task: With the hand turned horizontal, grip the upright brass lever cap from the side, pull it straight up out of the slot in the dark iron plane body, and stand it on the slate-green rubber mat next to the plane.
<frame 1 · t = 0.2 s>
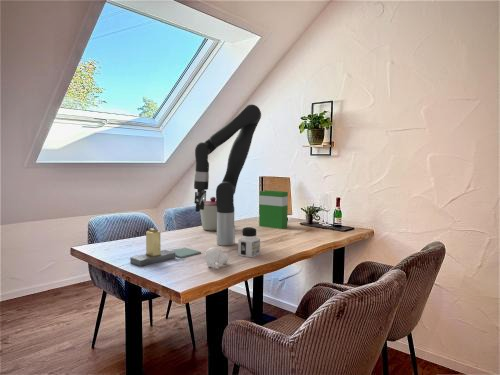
hand: (199, 210, 193), 18 cm above the table, tool pointing down, fingers open, 8 cm apart
white humped figurine: (218, 266, 153), on the table
plane body: (153, 260, 160), on the table
canister: (212, 229, 232), on the table
green cereal box: (273, 227, 244), on the table
mat: (183, 253, 173), on the table
container: (249, 255, 172), on the table
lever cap: (153, 244, 160), in the plane body
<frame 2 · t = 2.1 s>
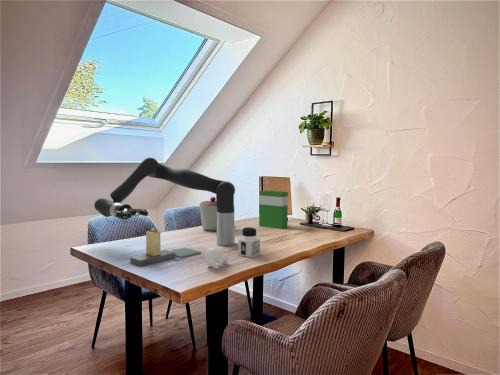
hand: (139, 214, 166), 19 cm above the table, tool horizontal, fingers open, 8 cm apart
nothing on the table moved.
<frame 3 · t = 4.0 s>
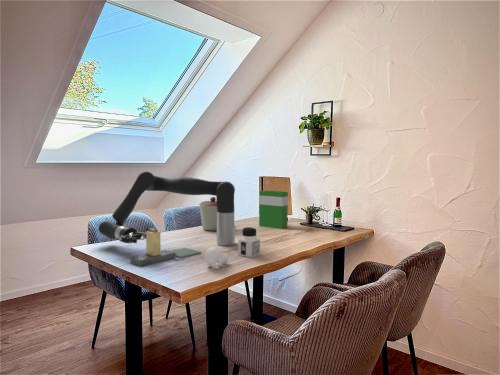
hand: (144, 239, 164), 8 cm above the table, tool horizontal, fingers open, 8 cm apart
nothing on the table moved.
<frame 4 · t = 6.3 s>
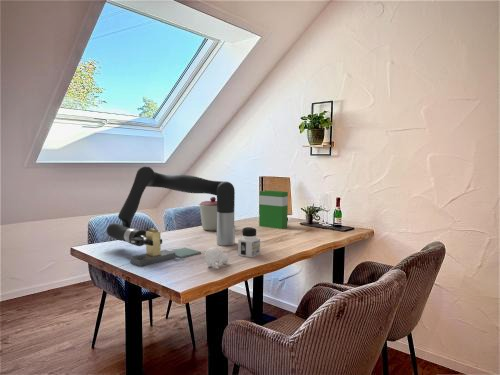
hand: (157, 242, 158), 9 cm above the table, tool horizontal, fingers closed on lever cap, 4 cm apart
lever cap: (153, 244, 160), in the plane body, touching gripper
everything else where it was.
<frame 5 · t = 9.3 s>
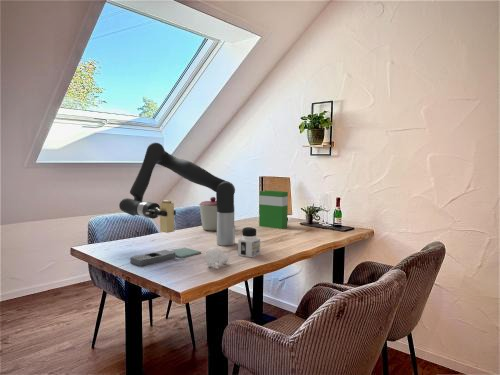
hand: (170, 213, 162), 21 cm above the table, tool horizontal, fingers closed on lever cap, 4 cm apart
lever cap: (167, 216, 163), point 19 cm above the table, touching gripper
everything else where it was.
when the fingers open (11 cm above the table, at t = 12.2 s): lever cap drops 1 cm, resting on mat.
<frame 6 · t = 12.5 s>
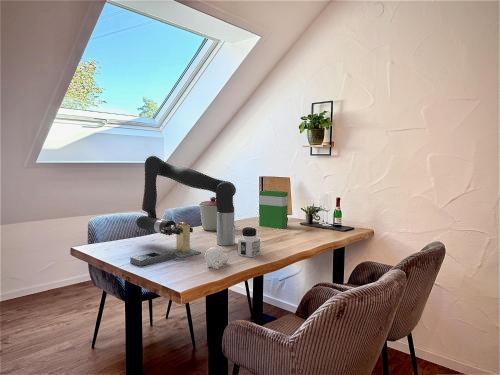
hand: (186, 231, 170), 11 cm above the table, tool horizontal, fingers open, 7 cm apart
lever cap: (183, 237, 172), on the mat, point 8 cm above the table
everything else where it was.
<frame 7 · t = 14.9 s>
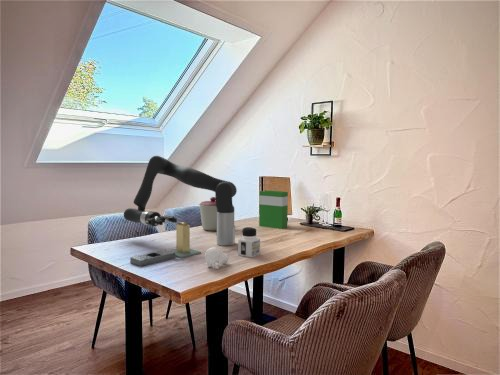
hand: (169, 221, 179), 14 cm above the table, tool horizontal, fingers open, 8 cm apart
nothing on the table moved.
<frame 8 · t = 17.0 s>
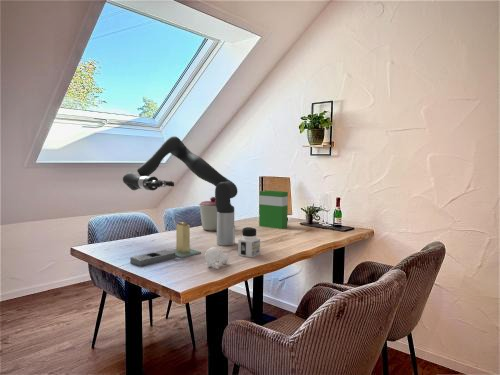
hand: (166, 184, 183), 32 cm above the table, tool horizontal, fingers open, 8 cm apart
nothing on the table moved.
at the end: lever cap inside the target area on the mat (0.1 cm from its centre), point 7.9 cm above the mat's base; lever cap tilted 0°; the gripper is holding nothing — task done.
